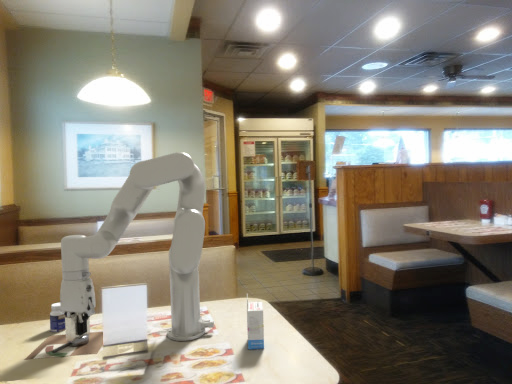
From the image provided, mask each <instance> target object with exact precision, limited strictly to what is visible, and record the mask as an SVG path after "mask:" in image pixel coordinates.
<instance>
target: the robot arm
mask: <svg viewBox="0 0 512 384" xmlns="http://www.w3.org/2000/svg"><path fill="white" fill-rule="evenodd" d="M172 182H177V183H178V187H179V191H178V197H177V199H178V200H177V207H176V210H175V211H176V213H175V216H174V219H173V232H172V239H171V244H170V247H169V250H168V263H169V264H168V265H169V266H168V267H169V284H170V285H169V286H170V287H169V288H170V290H169V291H170V294H169V295H170V318H171V327H170V328H168V330H167V332H166V336H167V338H168V339H170V340H172V341H176V342H185V341H187V342H188V341H191V340H192V341H193V340H196V339H198V338H201V337H202V336H203V335H205V333H206V328H207V329H208V328H209V329H210V328H215V321H212V320H211V319H205V320H204V319H202V315H201V304H200V303H201V301H200V298H201V297H200V273H199V272H200V271H199V265H200V262H201V259H202V258H201V257H202V253H203V252H202V251H203V246H204V239H205V231H206V221H205V217H204V215H203V212H204V203H205V193H206V183H205V178H204V176H203V173H202V170H200V168H199V167H198V166H197V164H195V162H194V160H193V157H192V156H190V155H189V154H188V153H186V152H182V151H178V152H177V151H176V152H173V153H168V154H166V155H162V156H157V157H154V158H149V159H146V160H145V159H144V160H141V161H137V162H136V163H134V164H133V165H132V167H130V171H129V175H128V176H127V178H126V180H125V181H124V183H123V185H122V186H121V188H120V189H119V190H118V192H117V194H116V195H115V196H114V198H113V200H112V202H111V205H110V209H109V212H108V213H107V216H106V217H105V219H104V221H103V223H102V224H101V226H100V227H99V229H98V230H97V232H96V233H95V234H93V235H89V236H86V235H84V234H72V235H67V236H66V235H65V236H64V237H62V238H61V241H60V249H61V251H60V252H61V254H60V255H61V273H62V274H61V275H62V276H61V277H62V280H61V284H60V289H59V291H60V294H59V302H60V306H61V309H60V312H62V313H63V314H65V316H66V317H68V316H70V315H72V314H75V313H78V315H79V323H78V335H79V336H81V335H83V334H84V333H86V332H87V320H88V319H90V317H91V316H92V315H95V314H96V310H95V308H96V302H97V301H96V293H95V286H94V283H93V279H92V277H90V276H91V275H92V274H91V273H92V272H90V267H89V266H90V264H89V261H90V260H89V259H94V260H95V259H96V260H97V259H98V260H100V259H104V258H107V256H109V255H110V254H111V252H113V250H114V249H115V247H116V246H117V244H118V243H119V241H120V239H121V238H122V236H123V235H124V233H125V231H126V230H127V228H128V227H129V225H130V223H132V221H133V220H134V219H135V218H136V216H137V214H138V213H139V211H140V210H141V208H142V207H143V205H144V204H145V202H146V200H147V198H148V197H149V195H150V194H151V193H152V191H153V189H154V188H155V187H159V186H162V185H167V184H169V183H172ZM83 314H84V316H83Z"/></svg>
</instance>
